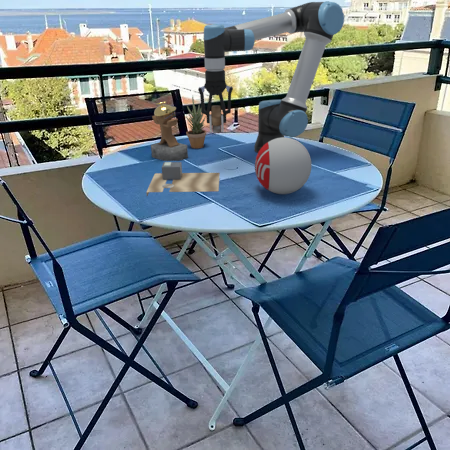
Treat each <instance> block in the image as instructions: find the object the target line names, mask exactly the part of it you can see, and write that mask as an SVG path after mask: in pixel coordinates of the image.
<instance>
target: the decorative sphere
mask: <svg viewBox="0 0 450 450" xmlns="http://www.w3.org/2000/svg"><path fill="white" fill-rule="evenodd" d="M254 160H255V163H254V172H255V176H256V179H257V181H258V182H259V184H260V185H262V186H261V187H263V188H265V190H267V191H268V192H271V193H274V194H277V195H288V194H292V193H294V192H297V191H298V190H300V189H301V188H302V187H304V186H305V184H306V183H307V182H308V181H309V180H308V179H309V178H310V176H311V173H312V159H311V156H310V153H309V151H308V149H307V148H306V147H305V145H304V144H302V143H301V142H299V141H298V140H296V139H295V138H292V137H287V136H284V137H282V138H276V139H273V140H271V141H269V142H267V143H266V144H265V145H264V146H263V147H262V148H261V149H260V151H259V152H258V153H257V154H256V156H255V159H254Z"/></svg>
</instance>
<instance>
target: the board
mask: <svg viewBox="0 0 450 450" xmlns="http://www.w3.org/2000/svg"><path fill="white" fill-rule="evenodd" d="M220 173H221V172H182V177H181V179H176V180H172V182H171V183H167V181H168V180H163V177H162V172H159V173H154V175H153V177H152V179H151V181H150V183H149V185H148V188H147V190H146V193H145V194H146V197H148V196H149V194H150V193H163V192H164V189H169V192H168V193H184V192H185V193H190V192H191V193H193V192H194V193H195V192H197V193H198V192H199V193H200V192H205V193H206V192H208V193H209V192H219V191H220V190H219V188H220Z"/></svg>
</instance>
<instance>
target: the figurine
mask: <svg viewBox="0 0 450 450" xmlns="http://www.w3.org/2000/svg"><path fill="white" fill-rule="evenodd" d="M155 105H158V106H157V107H156V108H155V109H154V112H153V115H152V116H151V118H152V120H153V122H154V124H155V125H159V128H160V132H161V133H160V134H161V137H160V141H158V142H155V143H153V144H152V143H151V144H150V151H151V158H153V159H157V160H160V161H164V162H181V161H182V160H185V159H188V158H189V156H188V154H189V152H188V144H184V143H181V142H178V140H177V138H176V136H175V135H174V134H173V129H172V127H175V126H177V123H178V121H179V120H178V118H175V117H176V110H177V107H176V106H174V105H170V104H167V101H162V102H156V103H155Z"/></svg>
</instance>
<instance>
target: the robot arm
mask: <svg viewBox="0 0 450 450" xmlns="http://www.w3.org/2000/svg"><path fill="white" fill-rule="evenodd" d="M344 22H345V14H344V11H343V8H342V7H341V6H340V4H339V3H337V2H335V1H309V2H307V3H303V4H299V5H297V6H294V7H291V8H287V9H286V10H285V11H284V12H282V13H278V14H275V15H270V16H266V17H263V18H258V19H254V20H251V21H247V22H242V23H238V24H235V25H231V26H227V27H225V26H224V24H207V25H204V27H203V39H202V40H203V47H204V48H203V50H204V69H205V71H204V72H205V74H204V76H205V82H204V85H203V86H199V87H198V90H197V91H198V93H199V97H200V98H199V99H200V109H201V112H202V114H203V115H205V116H206V117H205V118H206V123H207V124H209V132H210V133H213V129H212V120H211V106H212V101H213V96H218V98H219V102H220V106H221V133H224V131H225V130H224V129H225V128H224V124H226V123H227V115H228V114H231V113H232V110H231V109H232V93H233V91H234V87H233V86H230V85H228V84H227V83H226V70H225V68H226V59H225V58H226V53H230V52H246V51H252V49H253V48H254V46H255V41H259V40H263V39H266V38H270V37H274V36H277V35H282V34H285V33H288V34H295V33H303V35H304V38H305V40H304V44H303V46H302V50H301V53H300V55H299V58H298V61H297V64H296V67H295V69H294V73H293V74H292V75H293V76H292V79H291V81H290V84H289V87H288V91H287V93H286V96H285V97H284V98H282V99H269V100H262V101H259V103H258V110H257V111H258V122H257V124H258V126H257V127H258V130H257V131H258V133H257V136H256V141H255V143H254V147H253V148H254V149H253V150H254V152H255V153H257V154H258V152H259V151H260V149H261V148H262V147H263V146H264V145H265V144H266V143H267V142H269V141H271V140H273V139H276V138H282V137H288V138H295V137H298V136H300V135H302V134H303V133H304V132H305V131H306V129H307V126H308V124H309V123H308V122H309V118H308V114H306V113H307V111H308V106H307V104H306V102H307V99H308V97H309V94H310V91H311V88H312V85H313V82H314V81H315V77H316V74H317V72H318V69H319V65H320V63H321V60H322V57H323V54H324V51H325V49H326V46H327V45H328V44H330V43H332V40H333V37H334V35H336V34H338V33H340V31H342V28H343V27H344ZM205 90H206V91H207V92H208V94H209V95H208V96H209V97H208V99H207V100H208V101H207V107H206V106H205V95H204V93H205ZM225 90H226V91H227V109H226V105H225V100H224V97H223V96H224V95H223V93H224V91H225Z"/></svg>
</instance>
